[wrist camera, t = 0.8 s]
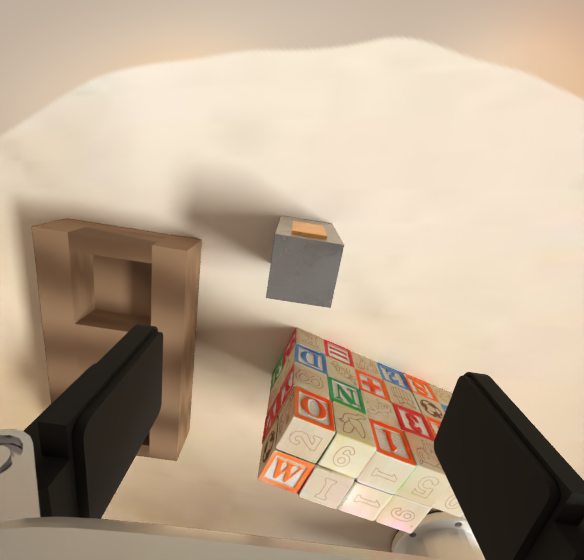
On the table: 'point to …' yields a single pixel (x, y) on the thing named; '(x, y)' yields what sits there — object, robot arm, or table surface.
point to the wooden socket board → (120, 309)
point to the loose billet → (304, 262)
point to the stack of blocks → (354, 435)
